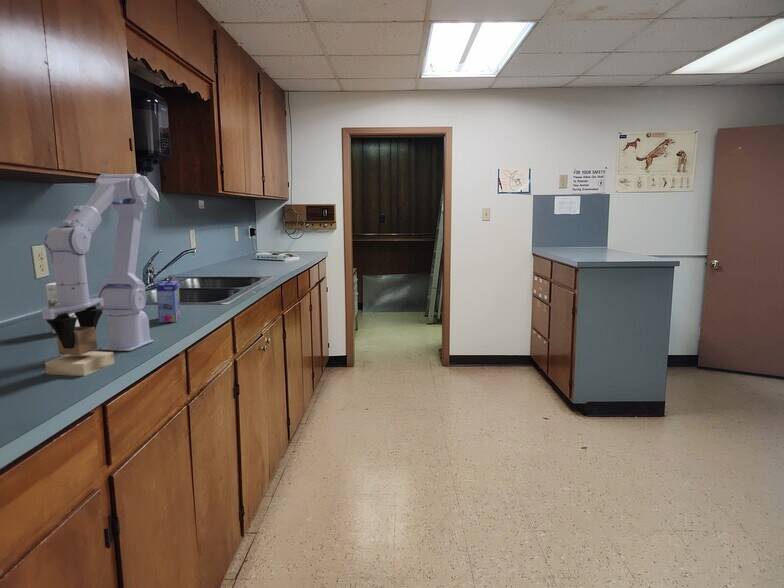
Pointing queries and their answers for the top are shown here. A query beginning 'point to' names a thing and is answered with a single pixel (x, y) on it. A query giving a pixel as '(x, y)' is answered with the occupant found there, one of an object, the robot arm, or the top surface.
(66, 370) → the maple block
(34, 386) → the top surface
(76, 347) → the walnut cube
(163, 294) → the ink cartridge box
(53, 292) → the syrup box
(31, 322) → the top surface
